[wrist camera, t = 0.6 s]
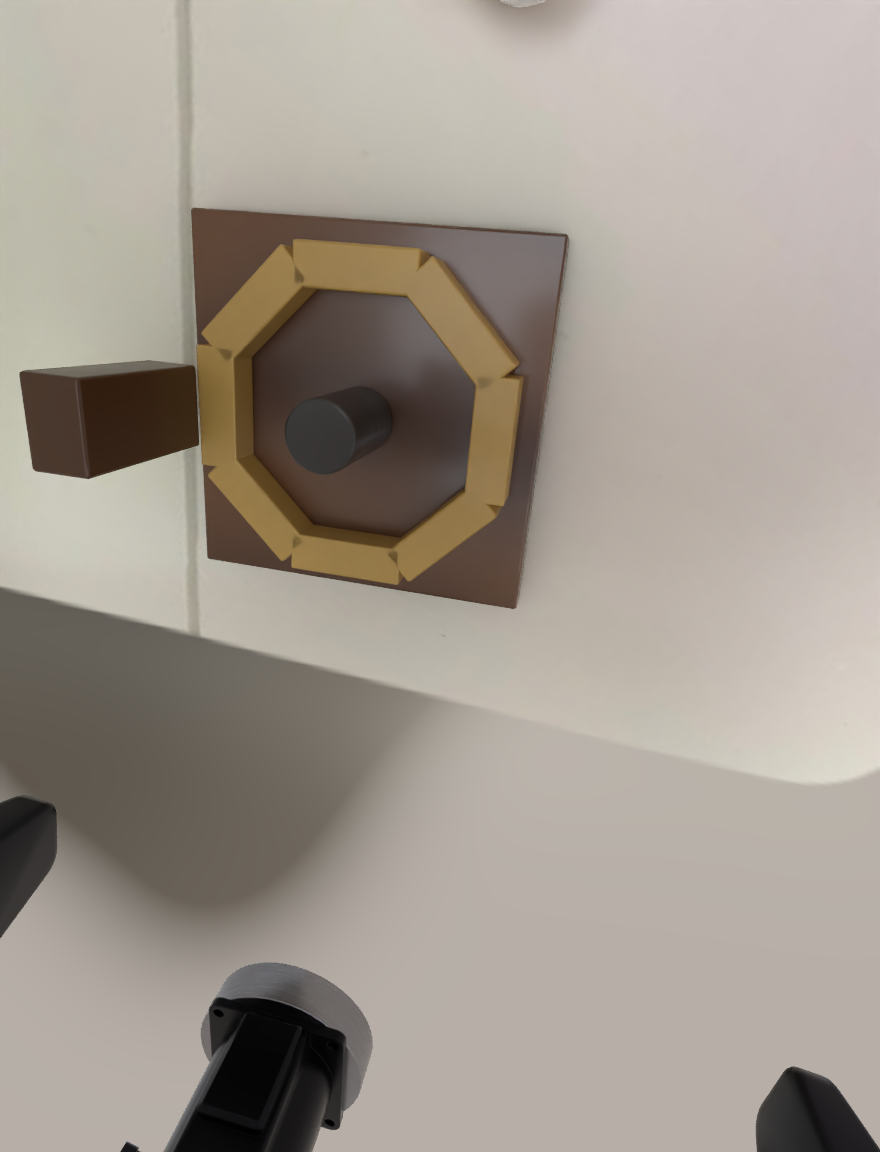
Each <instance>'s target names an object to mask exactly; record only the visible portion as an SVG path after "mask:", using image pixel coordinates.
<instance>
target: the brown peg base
mask: <svg viewBox="0 0 880 1152" xmlns="http://www.w3.org/2000/svg"><path fill="white" fill-rule="evenodd" d="M191 217H192V238H193V259H194V281H195V302H196V323H197V344H209V342H208V341H207V340H206V339H205V338H204V336H203V335H202V331H203V330H204V329H205V328H206V327H207V325H208V324H209V323H210V322H211V321H212V320H213V319H214V318H215V316H216V315H217V314H218V313H219V312H220V311H221V310H222V309H223V308H224V306H225V305H226V304H227V303H228V302H229V301H230V300H231V299H232V298H233V296H234V295H235V294H236V293H237V292H238V291H239V290H240V289H241V288H242V286H243V285H244V284H245V283H246V282H247V281H248V280H249V279H250V278H251V276H252V275H253V274H254V273H255V272H256V271H257V270H258V269H259V267H260V266H261V265H262V264H263V263H264V262H265V261H266V260H267V259H268V257H269V256H270V255H271V254H272V253H273V252H274V251H275V250H276V249H277V247H278V246H279V245H281V244H283V245H286V246H290V247H293V240H294V239H308V240H321V241H334V242H347V243H360V244H373V245H386V246H399V247H412V248H419V249H421V250H424V251H426V252H428V253H429V255H430V257H431V256H434V257H436V258H439V259H441V260H443V261H444V263H445V264H446V265H447V267H448V268H449V269H450V271H451V272H452V273H453V275H454V276H455V277H456V279H457V280H458V281H459V283H460V284H461V285H462V287H463V288H464V289H465V291H466V292H467V293H468V295H469V296H470V297H471V299H472V300H473V301H474V303H475V304H476V305H477V307H478V308H479V309H480V311H481V312H482V313H483V315H484V316H485V317H486V319H487V320H488V321H489V323H490V324H491V325H492V326H493V328H494V329H495V330H496V332H497V333H498V334H499V336H500V337H501V338H502V340H503V341H504V342H505V344H506V345H507V346H508V348H509V349H510V350H511V352H512V353H513V354H514V356H515V357H516V358H517V360H518V361H519V363H520V364H519V366H517V367H516V368H515V369H514V370H513V371H511V372H510V373H509V374H510V375H519V376H523V378H524V379H523V386H522V394H521V402H520V410H519V418H518V426H517V433H516V441H515V449H514V457H513V465H512V473H511V481H510V488H509V496H508V498H507V500H506V502H505V504H504V506H501V509H500V511H499V513H498V515H497V517H496V518H495V519H494V520H493V521H491V522H490V523H489V524H487V525H486V526H485V527H483V528H482V529H481V530H479V531H478V532H476V533H475V534H474V535H472V536H471V537H470V538H468V539H467V540H466V541H464V542H463V543H462V544H460V545H459V546H457V547H456V548H455V549H453V550H452V551H451V552H449V553H448V554H447V555H445V556H444V557H443V558H441V559H440V560H439V561H437V562H436V563H434V564H433V565H432V566H430V567H429V568H428V569H426V570H425V571H424V572H422V573H421V574H420V575H418V576H417V577H416V578H414V579H413V580H411V581H407V580H406V579H405V577H403V578H402V580H401V581H400V582H399V584H398V585H394V584H388V583H382V582H376V581H370V580H364V579H358V578H352V577H346V576H340V575H333V574H327V573H321V572H315V571H309V570H303V569H297V568H292V566H291V560H292V555H291V556H290V557H288V558H287V559H286V560H284V561H281V560H280V559H279V558H278V557H277V556H276V554H275V553H274V552H273V551H272V550H271V549H270V547H269V546H268V545H267V544H266V543H265V542H264V540H263V539H262V538H261V537H260V536H259V535H258V534H257V532H256V531H255V530H254V529H253V528H252V527H251V525H250V524H249V523H248V522H247V521H246V520H245V519H244V517H243V516H242V515H241V514H240V513H239V512H238V510H237V509H236V508H235V507H234V506H233V505H232V503H231V502H230V501H229V500H228V499H227V498H226V497H225V495H224V494H223V493H222V492H221V491H220V490H219V488H218V487H217V486H216V485H215V484H214V483H213V481H212V480H211V479H210V478H209V477H208V474H209V473H210V472H211V471H212V470H213V469H214V468H215V467H216V466H209V465H203V471H204V492H205V513H206V534H207V556H208V558H209V559H215V560H221V561H227V562H233V563H239V564H245V565H251V566H257V567H263V568H269V569H275V570H281V571H287V572H293V573H299V574H305V575H311V576H318V577H324V578H330V579H336V580H342V581H348V582H354V583H360V584H366V585H372V586H378V587H384V588H390V589H396V590H402V591H408V592H414V593H421V594H427V595H433V596H439V597H445V598H451V599H457V600H463V601H469V602H475V603H481V604H487V605H493V606H499V607H505V608H511V609H515V608H516V606H517V603H518V599H519V593H520V586H521V579H522V572H523V565H524V558H525V551H526V544H527V537H528V530H529V523H530V516H531V509H532V502H533V495H534V488H535V481H536V473H537V466H538V459H539V452H540V445H541V438H542V431H543V424H544V417H545V410H546V403H547V396H548V389H549V382H550V375H551V368H552V361H553V353H554V346H555V339H556V332H557V325H558V318H559V311H560V304H561V297H562V290H563V283H564V276H565V269H566V262H567V255H568V248H569V238H568V235H567V234H559V233H545V232H531V231H517V230H503V229H489V228H474V227H460V226H446V225H432V224H418V223H404V222H389V221H375V220H361V219H347V218H333V217H319V216H304V215H290V214H276V213H262V212H248V211H234V210H219V209H205V208H192V210H191ZM252 385H253V438H254V455H255V456H256V457H257V458H258V460H259V461H260V462H261V463H262V464H263V466H264V467H265V468H266V469H267V470H268V471H269V473H270V474H271V475H272V476H273V477H274V479H275V480H276V481H277V482H278V483H279V484H280V486H281V487H282V488H283V489H284V490H285V492H286V493H287V494H288V495H289V496H290V497H291V499H292V500H293V501H294V502H295V503H296V505H297V506H298V507H299V508H300V509H301V510H302V512H303V513H304V514H305V515H306V516H307V518H308V519H309V520H310V521H311V522H312V523H313V525H320V526H326V527H333V528H339V529H346V530H353V531H359V532H366V533H372V534H379V535H386V536H392V537H399V538H401V537H402V536H403V535H405V534H406V533H407V532H409V531H410V530H411V529H412V528H414V527H415V526H416V525H417V524H419V523H420V522H421V521H423V520H424V519H425V518H426V517H428V516H429V515H430V514H432V513H433V512H434V511H435V510H437V509H438V508H439V507H441V506H442V505H443V504H444V503H446V502H447V501H448V500H450V499H451V498H452V497H453V496H455V495H456V494H457V493H459V492H460V491H461V490H462V489H464V488H465V483H466V473H467V464H468V454H469V444H470V434H471V424H472V414H473V405H474V395H475V384H474V383H473V382H472V381H471V379H470V378H469V377H468V375H467V374H466V373H465V371H464V370H463V369H462V368H461V366H460V365H459V364H458V362H457V361H456V360H455V359H454V357H453V356H452V355H451V353H450V352H449V351H448V349H447V348H446V347H445V346H444V344H443V343H442V342H441V340H440V339H439V338H438V336H437V335H436V334H435V333H434V331H433V330H432V329H431V327H430V326H429V325H428V323H427V322H426V321H425V320H424V318H423V317H422V316H421V314H420V313H419V312H418V310H417V309H416V308H415V307H414V305H413V304H412V303H411V301H410V300H409V299H408V297H399V296H388V295H377V294H366V293H355V292H344V291H332V290H321V289H317V290H316V291H315V292H314V293H313V294H312V295H311V296H310V297H309V298H308V299H307V300H306V301H305V302H304V303H303V304H302V305H301V307H300V308H299V309H298V310H297V311H296V312H295V313H294V314H293V315H292V316H291V317H290V318H289V319H288V320H287V321H286V322H285V323H284V324H283V325H282V326H281V327H280V328H279V329H278V330H277V332H276V333H275V334H274V335H273V336H272V337H271V338H270V339H269V340H268V341H267V342H266V343H265V344H264V345H263V346H262V347H261V348H260V349H259V350H258V351H257V352H256V353H255V354H254V355H253V357H252Z"/></svg>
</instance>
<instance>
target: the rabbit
mask: <svg viewBox="0 0 880 1152" xmlns="http://www.w3.org/2000/svg"><path fill="white" fill-rule="evenodd" d="M499 1H501V2H503V3H506V4H508V5H510V6H512V7H527V6H531V5H535V4H539V3H543V2H545V1H548V0H499Z"/></svg>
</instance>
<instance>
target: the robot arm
mask: <svg viewBox="0 0 880 1152" xmlns="http://www.w3.org/2000/svg"><path fill="white" fill-rule="evenodd" d="M56 853H57V822H56V809H55V807H54V806H53V805H52V804H51V803H48V802H46V801H43V800H40V799H37V798H35V797H32V796H27V795H21V796H17V797H14V798H11V799H8V800H6V801H3V802H1V803H0V938H1V937H2V935H3V934H4V933H5V931H6V930H7V928H8V927H9V926H10V924H11V923H12V922H13V920H14V919H15V918H16V916H17V915H18V913H19V912H20V911H21V909H22V908H23V907H24V905H25V904H26V902H27V901H28V899H29V898H30V897H31V896H32V894H33V893H34V891H35V890H36V889H37V887H38V886H39V885H40V883H41V882H42V881H43V879H44V878H45V876H46V875H47V874H48V872H49V871H50V869H51V867H52V865H53V863H54V861H55V857H56ZM209 1021H210V1037H211V1053H212V1059H211V1061H210V1063H209V1065H208V1067H207V1069H206V1071H205V1073H204V1075H203V1077H202V1079H201V1081H200V1082H199V1084H198V1086H197V1088H196V1090H195V1092H194V1094H193V1096H192V1098H191V1100H190V1102H189V1104H188V1106H187V1108H186V1109H185V1111H184V1113H183V1115H182V1117H181V1119H180V1121H179V1123H178V1125H177V1127H176V1129H175V1131H174V1133H173V1134H172V1136H171V1138H170V1140H169V1142H168V1144H167V1146H166V1148H165V1150H164V1152H312V1151H313V1148H314V1145H315V1142H316V1139H317V1136H318V1133H319V1130H320V1127H324V1128H327V1129H331V1130H337V1129H338V1128H339V1127H340V1124H341V1120H342V1118H343V1102H344V1082H345V1062H346V1042H347V1040H346V1036H345V1035H344V1034H343V1033H342V1032H341V1031H338V1030H336V1029H333V1028H329V1027H325V1026H322V1025H318V1024H315V1023H311V1022H308V1021H304V1020H301V1019H297V1018H294V1017H290V1016H286V1015H283V1014H279V1013H276V1012H272V1011H269V1010H265V1009H262V1008H258V1007H255V1006H251V1005H248V1004H244V1003H240V1002H237V1001H233V1000H230V999H226V998H223V997H217V998H215V999H214V1000H213V1002H212V1004H211V1006H210V1007H209ZM756 1144H757V1152H880V1149H879V1147H878V1146H877V1144H876V1143H875V1142H874V1140H873V1139H872V1137H871V1136H870V1134H869V1133H868V1131H867V1130H866V1128H865V1127H864V1126H863V1124H862V1123H861V1121H860V1120H859V1118H858V1117H857V1115H856V1114H855V1112H854V1111H853V1110H852V1108H851V1107H850V1105H849V1104H848V1102H847V1101H846V1100H845V1098H844V1097H843V1095H842V1094H841V1092H840V1091H839V1090H838V1089H837V1087H836V1086H835V1085H834V1084H833V1083H832V1082H831V1081H830V1080H829V1079H827V1078H825V1077H823V1076H821V1075H818V1074H815V1073H812V1072H810V1071H807V1070H804V1069H801V1068H798V1067H790V1068H787V1069H786V1070H785V1071H784V1072H783V1074H782V1075H781V1077H780V1078H779V1080H778V1081H777V1083H776V1084H775V1085H774V1087H773V1089H772V1090H771V1091H770V1093H769V1095H768V1096H767V1098H766V1099H765V1100H764V1102H763V1103H762V1105H761V1107H760V1109H759V1112H758V1115H757V1121H756ZM138 1149H139V1148H138V1147H137V1146H135V1145H133V1144H131V1143H129V1142H126V1144H125V1145H124V1147H123V1148H122V1150H121V1152H140V1151H138Z"/></svg>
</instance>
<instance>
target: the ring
mask: <svg viewBox="0 0 880 1152" xmlns="http://www.w3.org/2000/svg"><path fill="white" fill-rule="evenodd" d="M317 289H321V290H332V291H344V292H355V293H366V294H377V295H388V296H399V297H408V299H409V300H410V301H411V303H412V304H413V305H414V307H415V308H416V309H417V310H418V312H419V313H420V314H421V316H422V317H423V318H424V320H425V321H426V322H427V323H428V325H429V326H430V327H431V329H432V330H433V331H434V333H435V334H436V335H437V336H438V338H439V339H440V340H441V342H442V343H443V344H444V346H445V347H446V348H447V349H448V351H449V352H450V353H451V355H452V356H453V357H454V359H455V360H456V361H457V362H458V364H459V365H460V366H461V368H462V369H463V370H464V371H465V373H466V374H467V375H468V377H469V378H470V379H471V381H472V382H473V383H474V384H475V395H474V405H473V414H472V424H471V434H470V444H469V454H468V464H467V473H466V483H465V488H464V489H462V490H461V491H460V492H459V493H457V494H456V495H455V496H453V497H452V498H451V499H450V500H448V501H447V502H446V503H444V504H443V505H442V506H441V507H439V508H438V509H437V510H435V511H434V512H433V513H432V514H430V515H429V516H428V517H426V518H425V519H424V520H423V521H421V522H420V523H419V524H417V525H416V526H415V527H414V528H412V529H411V530H410V531H409V532H407V533H406V534H405V535H403V536H402V537H401V538H399V537H392V536H386V535H379V534H372V533H366V532H359V531H353V530H346V529H339V528H333V527H326V526H320V525H313V523H312V522H311V521H310V520H309V519H308V518H307V516H306V515H305V514H304V513H303V512H302V510H301V509H300V508H299V507H298V506H297V505H296V503H295V502H294V501H293V500H292V499H291V497H290V496H289V495H288V494H287V493H286V492H285V490H284V489H283V488H282V487H281V486H280V484H279V483H278V482H277V481H276V480H275V479H274V477H273V476H272V475H271V474H270V473H269V471H268V470H267V469H266V468H265V467H264V466H263V464H262V463H261V462H260V461H259V460H258V458H257V457H256V456H255V455H254V438H253V385H252V357H253V355H254V354H255V353H256V352H257V351H258V350H259V349H260V348H261V347H262V346H263V345H264V344H265V343H266V342H267V341H268V340H269V339H270V338H271V337H272V336H273V335H274V334H275V333H276V332H277V330H278V329H279V328H280V327H281V326H282V325H283V324H284V323H285V322H286V321H287V320H288V319H289V318H290V317H291V316H292V315H293V314H294V313H295V312H296V311H297V310H298V309H299V308H300V307H301V305H302V304H303V303H304V302H305V301H306V300H307V299H308V298H309V297H310V296H311V295H312V294H313V293H314V292H315V291H316V290H317ZM202 335H203V336H204V338H205V339H206V340H207V341H208V342H209V344H198V345H197V367H198V388H199V408H200V429H201V450H202V464H203V465H209V466H216V467H215V468H214V469H213V470H212V471H211V472H210V473H209V474H208V477H209V478H210V479H211V480H212V481H213V483H214V484H215V485H216V486H217V487H218V488H219V490H220V491H221V492H222V493H223V494H224V495H225V497H226V498H227V499H228V500H229V501H230V502H231V503H232V505H233V506H234V507H235V508H236V509H237V510H238V512H239V513H240V514H241V515H242V516H243V517H244V519H245V520H246V521H247V522H248V523H249V524H250V525H251V527H252V528H253V529H254V530H255V531H256V532H257V534H258V535H259V536H260V537H261V538H262V539H263V540H264V542H265V543H266V544H267V545H268V546H269V547H270V549H271V550H272V551H273V552H274V553H275V554H276V556H277V557H278V558H279V559H280V560H281V561H284V560H286V559H287V558H288V557H290V556H291V555H292V560H291V566H292V568H297V569H303V570H309V571H315V572H321V573H327V574H333V575H340V576H346V577H352V578H358V579H364V580H370V581H376V582H382V583H388V584H394V585H398V584H399V582H400V581H401V580H402V578H403V577H405V579H406V580H407V581H411V580H413V579H414V578H416V577H417V576H418V575H420V574H421V573H422V572H424V571H425V570H426V569H428V568H429V567H430V566H432V565H433V564H434V563H436V562H437V561H439V560H440V559H441V558H443V557H444V556H445V555H447V554H448V553H449V552H451V551H452V550H453V549H455V548H456V547H457V546H459V545H460V544H462V543H463V542H464V541H466V540H467V539H468V538H470V537H471V536H472V535H474V534H475V533H476V532H478V531H479V530H481V529H482V528H483V527H485V526H486V525H487V524H489V523H490V522H491V521H493V520H494V519H495V518H496V517H497V515H498V513H499V511H500V509H501V506H504V504H505V502H506V500H507V498H508V496H509V488H510V481H511V473H512V465H513V457H514V449H515V441H516V433H517V426H518V418H519V410H520V402H521V394H522V386H523V379H524V378H523V376H519V375H510V374H509V373H510V372H511V371H513V370H514V369H515V368H516V367H517V366H519V364H520V363H519V361H518V360H517V358H516V357H515V356H514V354H513V353H512V352H511V350H510V349H509V348H508V346H507V345H506V344H505V342H504V341H503V340H502V338H501V337H500V336H499V334H498V333H497V332H496V330H495V329H494V328H493V326H492V325H491V324H490V323H489V321H488V320H487V319H486V317H485V316H484V315H483V313H482V312H481V311H480V309H479V308H478V307H477V305H476V304H475V303H474V301H473V300H472V299H471V297H470V296H469V295H468V293H467V292H466V291H465V289H464V288H463V287H462V285H461V284H460V283H459V281H458V280H457V279H456V277H455V276H454V275H453V273H452V272H451V271H450V269H449V268H448V267H447V265H446V264H445V263H444V261H443V260H441V259H439V258H436V257H434V256H431V257H430V255H429V253H428V252H426V251H424V250H421V249H419V248H412V247H399V246H386V245H373V244H360V243H347V242H334V241H321V240H308V239H294V240H293V247H290V246H286V245H283V244H281V245H279V246H278V247H277V249H276V250H275V251H274V252H273V253H272V254H271V255H270V256H269V257H268V259H267V260H266V261H265V262H264V263H263V264H262V265H261V266H260V267H259V269H258V270H257V271H256V272H255V273H254V274H253V275H252V276H251V278H250V279H249V280H248V281H247V282H246V283H245V284H244V285H243V286H242V288H241V289H240V290H239V291H238V292H237V293H236V294H235V295H234V296H233V298H232V299H231V300H230V301H229V302H228V303H227V304H226V305H225V306H224V308H223V309H222V310H221V311H220V312H219V313H218V314H217V315H216V316H215V318H214V319H213V320H212V321H211V322H210V323H209V324H208V325H207V327H206V328H205V329H204V330H203V331H202ZM20 382H21V389H22V396H23V403H24V410H25V417H26V424H27V431H28V438H29V445H30V452H31V459H32V466H33V469H34V470H35V471H38V472H45V473H51V474H58V475H65V476H71V477H78V478H85V479H90V478H93V477H97V476H100V475H103V474H106V473H110V472H113V471H116V470H119V469H123V468H126V467H129V466H132V465H136V464H139V463H142V462H145V461H149V460H152V459H155V458H158V457H162V456H165V455H168V454H171V453H175V452H178V451H181V450H185V449H188V448H191V447H194V446H197V445H199V432H198V411H197V391H196V371H195V367H194V366H192V365H185V364H176V363H168V362H159V361H150V360H148V361H136V362H123V363H111V364H99V365H87V366H74V367H62V368H50V369H37V370H25V371H22V372H20Z"/></svg>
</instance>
